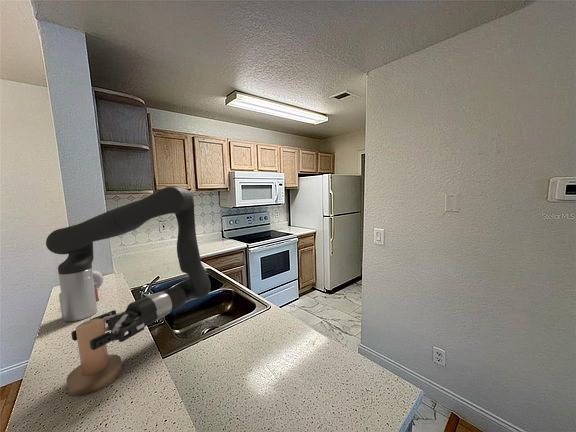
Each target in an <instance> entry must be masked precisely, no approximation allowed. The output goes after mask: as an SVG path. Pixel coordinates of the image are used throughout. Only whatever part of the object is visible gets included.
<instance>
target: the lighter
mask: <svg viewBox="0 0 576 432" xmlns="http://www.w3.org/2000/svg"><path fill="white" fill-rule="evenodd" d="M93 280H94V281H95V279H94V278H93ZM94 288H95V296H96V303H97V302H99V301H100V297H99V292H98V289H97V283H96V282H94Z"/></svg>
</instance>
